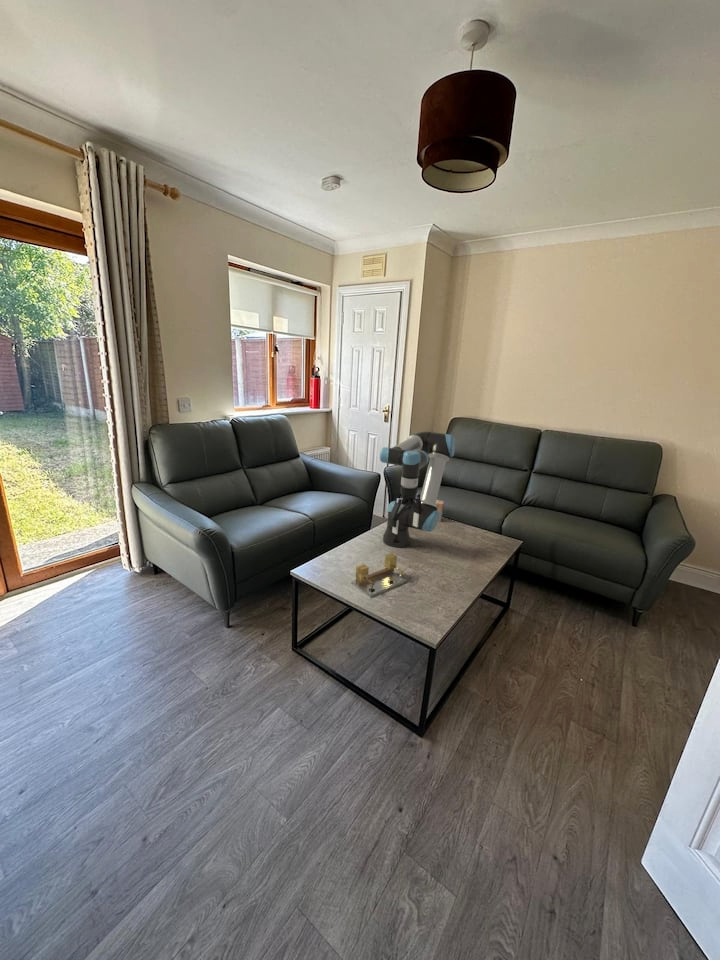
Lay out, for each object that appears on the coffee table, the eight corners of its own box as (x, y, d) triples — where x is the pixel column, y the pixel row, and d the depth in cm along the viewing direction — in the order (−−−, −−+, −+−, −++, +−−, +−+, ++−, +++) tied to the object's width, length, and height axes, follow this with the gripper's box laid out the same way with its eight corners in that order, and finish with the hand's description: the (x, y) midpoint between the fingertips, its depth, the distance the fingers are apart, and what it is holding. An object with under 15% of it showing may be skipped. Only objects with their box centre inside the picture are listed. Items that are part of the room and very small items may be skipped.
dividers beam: (354, 582, 170) (355, 566, 168) (389, 569, 183) (390, 553, 181) (368, 593, 163) (369, 576, 161) (404, 578, 176) (405, 562, 173)
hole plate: (351, 583, 171) (351, 581, 171) (386, 569, 184) (386, 567, 184) (370, 597, 162) (370, 595, 162) (405, 582, 175) (405, 580, 174)
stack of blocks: (407, 516, 250) (408, 498, 246) (409, 513, 256) (410, 495, 252) (440, 522, 244) (443, 503, 240) (441, 518, 250) (444, 500, 246)
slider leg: (384, 570, 181) (385, 555, 178) (390, 567, 183) (391, 552, 181) (398, 579, 173) (400, 563, 171) (405, 576, 176) (406, 561, 174)
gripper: (395, 493, 162) (391, 539, 168) (433, 483, 178) (429, 526, 184) (383, 488, 168) (379, 533, 174) (421, 479, 183) (417, 521, 189)
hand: (405, 529), depth 179 cm, fingers open, 13 cm apart
